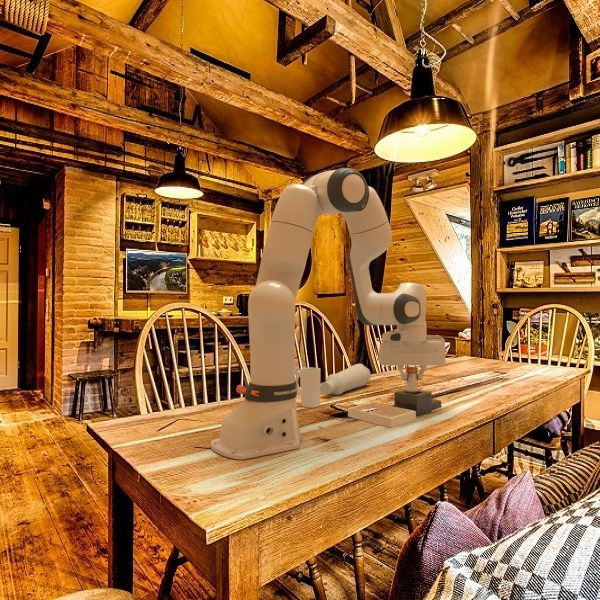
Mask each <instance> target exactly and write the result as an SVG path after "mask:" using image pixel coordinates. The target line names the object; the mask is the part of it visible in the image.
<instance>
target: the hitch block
mask: <svg viewBox="0 0 600 600" xmlns="http://www.w3.org/2000/svg"><path fill="white" fill-rule="evenodd" d="M432 394H433V392H431V391H425V390H421V389H420V390H419V389H418V394H410V393H406V389H401V390H398V391H394V396H393V397H394V398H393V399H394V403H393V404H394V405H393V406H394V407H399V408H403V409H408V410H413V411H416V418H417V417H419V416H420V417H421V416H424V415H426V414H430V413H432V412H433V410H435V409H439V408H441V407H442V400H440V399H435V398H433V395H432Z"/></svg>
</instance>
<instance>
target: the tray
mask: <svg viewBox="0 0 600 600" xmlns="http://www.w3.org/2000/svg"><path fill="white" fill-rule="evenodd" d="M370 408H377V410H373V411H369V412H366V411H361V409H370ZM347 417H349V418H352V419H356V420H360V421H363V422H366V423H371V424H374V425H379V426H383V427H385V428H389V429H393V428H396V427H399V426H402V425H404V424H408V423H411V422H415V421H417V417H416V411H413V410H408V409H403V408H399V407H395V405H390V404H384V403H379V402H375V401H372V402H368V403H364V404H363V403H362V404H358V405H355V406H352V407H347Z"/></svg>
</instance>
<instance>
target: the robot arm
mask: <svg viewBox="0 0 600 600" xmlns="http://www.w3.org/2000/svg"><path fill="white" fill-rule="evenodd" d="M278 198H279V199H278V200H277V202H276V205H275V207H274V211H273V213H272V216H271V220H270V223H269V228H268V230H267V233H266V234H267V235H266V239H265V243H264V247H263V250H262V255H261V260H260V264H259V265H260V266H259V269H258V272H257V279H256V283H255V286H254V288H253V289H252V290H251V292H250V294H249V296H248V302H247V308H248V309H247V312H248V313H247V314H248V335H249V336H248V337H249V352H250V353H249V354H250V355H249V356H250V357H249V359H250V362H249V363H250V364H249V366H250V367H249V369H250V371H249V372H250V379H249V380H250V381H249V382H248V385H247V386H245V385H242V384H239V385H237V387H236V389H235V391H236V392H237V394H240V395H244V396H243V400H242V401H240V403H238V405H237V406H236V407H235V408H233V409H232V410H231V411H230V412H229V413H228V414H227V415H226V416H225V417H223V419H222V423H221V427H220V433H219V437H217V438H214V439H212V440H211V441H210V445H209V446H210V449H211V450H212V451H214V452H215V453H217V454H218V455H221V456H223V457H226V458H229V459H232V460H233V459H235V460H240V461H241V460H247V459H252V458H258V457H263V456H267V455H271V454H272V455H273V454H277V453H278V454H279V453H282V452H286V451H293V450H296V449H300V448H301V441H302V440H303V436H302V433H301V429H300V425H299V419H298V411H297V402H296V401H297V396H298V394H297V382H296V381H295V378H296V367H295V366H296V300H297V296H298V294H299V293H298V292H299V289H300V285H301V282H302V278H303V274H304V270H305V267H306V264H307V259H308V256H309V253H310V249H311V245H312V241H313V236H314V232H315V229H316V224H317V221H318V219H319V217H320V216H322V215H328V216H329V215H330V216H331V215H332V216H333V215H342V217H343V218H344V220H345V222H346V225H347V226H346V227H347V229H348V233H349V237H350V240H351V241H350V243H351V247H350V248H349V250H348V256H347V257H348V258H347V259H348V266H349V273H350V278H351V282H352V288H353V294H354V299H355V314H356V316H357V318H358V320H359V321H360V323H362V324H363V325H365V326H367V327H368V326H396V329H394V330H390V331H386V332H384V333H382V335H381V339H382V340H383V341H381V343H380V344H379V348H378V358H377V360H378V361H377V362H378V363H379V364H380V365H382V366H386V367H387V366H388V367H389V366H391V367H392V366H397V367H396V368H397V369H398V372H399V374H400V380H402V381H406V380H407V374H406V373H405V372H404V371H403V370H404V366H419V368H420V370H419V371H418V373H417V381H423V380H424V378H423V377H424V374H425V372H426V371H427V366H444V365H445V364H446V362H447V361H446V349H445V347H446V339H445V338H444V337H443V336H441V335H440V334H436V335H433V334H427V333H428V331H427V328H428V327H427V325H428V324H427V321H426V315H427V310H428V309H427V307H428V306H427V295H426V290H425V289H426V288H425V286H424V285H422V284H421V283H419V282H415V281H414V282H413V281H412V282H411V281H403V282H401V283H400V284H399V285H398V288H397V289H396V290H394V291H392V292H388V293H387V292H384V293H383V292H382V293H381V292H379V293H378V292H376V291H375V290H374V289H373V287H372V286H373V285H372V280H371V279H372V278H371V275H370V269H369V268H370V263H371V262H372V261H373V260H375V259H377V258H378V257H380V256H381V255H382V254H383V253H385V252H386V251H387V250H388V248H389V246H390V245H391V243H392V240H393V239H392V238H393V237H392V229H391V225H390V222H389V219H388V215H387V212H386V210H385V207H384V205H383V203H382V200H381V198H380V197H379V195H378V193H377V191H376V190H375V189H374V188H373V187H372V186H369V185H368V183H367V181H366V178H365V177H364V176H363V174H362V173H361V172H360V171H358V170H357V169H354V168H350V167H340V168H337V169H333V170H324V171H323V172H319V173H318V174H314V175H310V177H308V178H307V179H305V180H304V181H303V182H302V183H292V184H289V185H287V186H286V187H285V188H284V189H283V190H282V191H281V194H280V196H279V197H278Z"/></svg>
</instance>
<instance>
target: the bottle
mask: <svg viewBox="0 0 600 600" xmlns="http://www.w3.org/2000/svg"><path fill="white" fill-rule="evenodd" d="M371 374H372V373H371V371H370V369H369V368H367V367H366V366H365V365H364V364H363V363H357V364H354V365H351V366H348V368H346V369H343V370H340V371H339V372H337V373H332V374H330V375H328V376H327V377H326V380H325V381H324V382H320V394H322V395H324V396H329V395H330V394H331V395H332V396H341V395H342V394H343V393H345V392H347V391H351V390H353V389H359V388H363V386H365V385H367V384H368V383H369V381H370V379H371V377H372V375H371Z"/></svg>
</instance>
